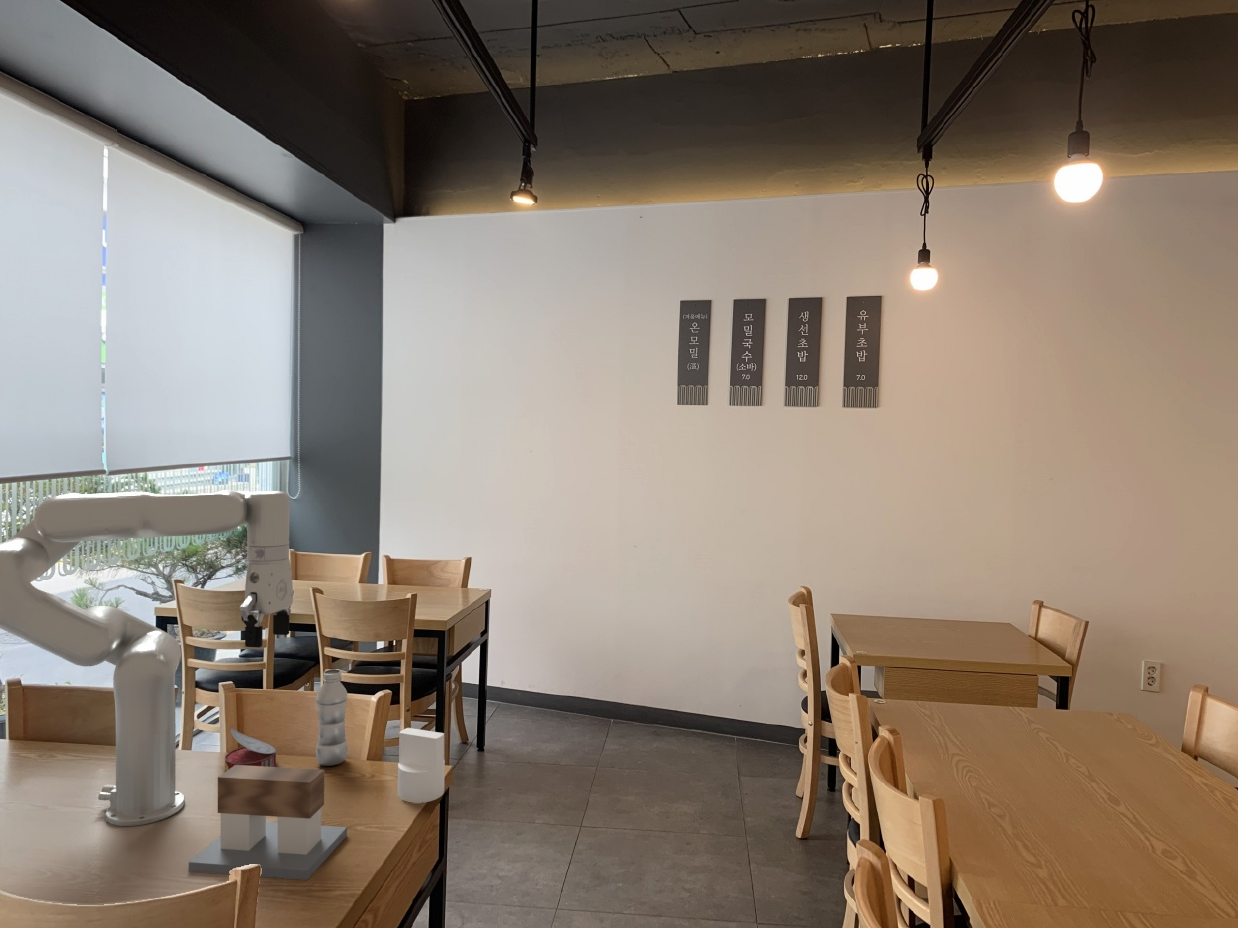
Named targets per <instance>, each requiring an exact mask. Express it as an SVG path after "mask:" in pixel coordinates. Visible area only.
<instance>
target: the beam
mask: <svg viewBox="0 0 1238 928" xmlns="http://www.w3.org/2000/svg"><path fill="white" fill-rule="evenodd" d="M324 805H325V769H312V768H298V767H296V768H295V767H279V766H275V767H264V766H246V765H235V766H233V767H232V768H230V769H229V770H227V771H226V772H225V771H224V772H223V773H221V774H220V775H219V776H218V777H217V813H218V814H221V813H226V814H243V815H259V816H266V817H275V818H278V817H292V818H308V819H310V818H311V817H312V816H313V815H314V814H315V813H316V812H317V811H318V810H319V809H320V808H321V809H322V807H323V806H324Z"/></svg>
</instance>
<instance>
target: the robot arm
mask: <svg viewBox="0 0 1238 928" xmlns="http://www.w3.org/2000/svg"><path fill="white" fill-rule="evenodd" d="M240 526H241V527H242V526H243V527H244V526H246V527H247V532H246V533H247V535H246V536H247V537H246V541H247V546H246V554H247V556H246V561H247V568H246V576H245V585H244V601H243V602H242V603H241V605H240V606H239V610H238V611H239V612H240V615H241V621H242V622H243V624H242V625H243V627H244V646H245V648H259V649H260V648H261V647H263V632H264V631H263V628H264V627H263V625H261V623H262V622H263V619H264V616H266V615H267V616H268V615H269V616H271V615H272V633H273V635H275V636H287V635H290V615H291V612H292V611H291V610H292V609H291V606H292V605H293V603H294V592H295V591H294V589H293V587H294V586H293V584H294V583H293V572H292V564H291V560H290V495H288V493H286V492H285V491H281V490H280V491H279V490H259V491H254V492H253V491H252V492H250V491H242V490H233V489H223V490H218V491H215V492H214V493H200V494H198V493H197V494H170V495H169V494H156V493H152V492H146V491H130V492H129V491H128V492H111V493H110V492H108V493H89V494H87V493H86V494H85V493H84V494H82V493H77V492H70V493H64V494H60V495H55V496H52V497H49V498H47V499H46V500H44V501H42V502H41V503H40V504H39V505H38V507H37V508H36V510H35V512H34V515H33V519H32V520H31V521H30V522H29V523H28V524H26V525H25V526H24V527H23V528H22V529H20V530H19V531H18V532H17V533H16V534H13V536H12V537H10V538H9V539H7V540H5V541H2V542H0V629H1V630H3V631H5V632H7V633H8V634H9V633H10V634H12V635H13V636H15V637H17V638H20V639H22V640H25V641H26V642H28V643H29V644H32V645H34V646H36V647H38V648H40V649H41V650H42V649H43V650H44V651H46V652H48V653H51V654H53V655H55V656H56V657H57V656H58V657H59V658H61V659H63V660H65V661H67V662H69V663H71V664H73V665H76V666H80V667H94V666H97V665H100V664H102V663H103V662H108V663H109V664H112V665H114V666H115V667H114V671H113V676H112V677H113V678H112V679H113V681H112V682H113V684H112V686H113V687H112V688H113V696H114V706H115V707H114V708H115V709H114V710H115V784H110V783H109V784H108V783H107V784H104V785H103V786H102V788H101V792H100V793H99V794H98V797H97V799H98V800H99V801H109V802H110V803H109V805H110V806H109V807H108V808H107V809H106V811H105V821H106V822H107V823H109V824H111V825H113V826H119V827H133V826H143V825H146V824H147V825H148V824H152V823H155V822H159V821H161V820H164V819H167V818H169V817H171V816H172V815H175V814H176V813H178V812H179V811H180V810H182V808H183V807H184V805H185V802H186V797H185V795H184V793H182V792H180V791H178V790H176V763H177V761H176V752H177V751H176V750H177V748H176V740H177V739H176V738H177V737H176V735H177V734H176V733H177V731H176V729H177V728H176V727H177V726H176V724H177V723H176V692H175V691H176V690H175V681H176V678H175V677H176V672H177V669H178V667H179V665H180V662H181V658H182V650H181V646H180V644H179V642H178V640H177V639H176V638H175V637H173V636H172V635H171V634H170V633H168V632H166V631H164V630H162V629H161V628H158V627H157V626H154V625H152V624H150V623H149V622H147V621H145V620H143V619H140V618H138V617H137V616H134V615H132V614H130V613H128V612H126V611H125V610H122V609H120V608H117V607H114V606H109V605H95V606H90V607H88V608H85V609H84V608H82V607H79V606H77V605H75V604H73V603H70V602H69V601H66V600H65V599H63V598H61V597H59V596H57V595H55V594H53V593H50V592H46V591H45V590H44V591H43V590H41V589H39V588H37V587H36V586H34V585H33V584H32V583H31V582H33V581H37V580H38V578H40V577H42V576H43V575H44V574H45V573H47V572H48V571H49V570H50V569H51V568H52V567H53V566H54V565H56V564H57V563H59V561H61V559H63V558H64V557H65V556H67V554H68V553H70V552H71V551H72V550H73V549H74V548H76V547H77V546H78V545H79V544H80V543H82V542H90V541H91V542H92V541H104V540H105V541H106V540H118V539H119V540H122V539H124V540H125V539H141V538H144V539H148V538H149V539H152V538H153V539H154V538H158V537H159V538H160V537H161V538H162V537H187V536H188V537H189V536H202V535H216V534H217V535H218V534H225V533H226V534H227V533H229V532H232V531H234V530H236V529H237V528H239V527H240Z"/></svg>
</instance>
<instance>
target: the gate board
mask: <svg viewBox="0 0 1238 928" xmlns="http://www.w3.org/2000/svg"><path fill="white" fill-rule="evenodd" d="M266 820H267V816H259V815H243V814H226V813H220V835H219V836H218V837H217V838H216V839H215V840H214V841H213V842H211V843H210V844H209V845H208V846H207V847H204V849H202V851H201V852H199V853H198V854H197V855H196V856H194V857H193V858H192V859H190V861H189V862H188V872H192V873H208V874H210V873H211V874H220V875H230V874H229V871H230V870H232V869H233V868H236V867H241V866H244V865H249V864H260V865H261V868H262V874H261V877H263V878H273V877H274V878H275V877H276V878H277V879H289V880H304V881H308V880H309V878H310V877H311V876H312V875H313V874H314V873H315V872H316V871H317V869H319V868H320V866H321V865H322V864H323V863H324V862H325V861H326V860H327V858H329V856H330V855H331V854H332V853H333V852H334V851H335V850H336V848H338V847H339V845H340V844H341V843H342V841H344V839H345V838H346V837H347V835H348V827H346V826H332V825H322V807H321V808H320V809H319V810H318V811H317V812H316V813H315V814H314V815H313V816H312V817H311V818H310V819H308V818H292V817H277V822H272V821H266ZM261 877H260V878H261Z"/></svg>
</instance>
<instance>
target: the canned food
mask: <svg viewBox="0 0 1238 928" xmlns="http://www.w3.org/2000/svg"><path fill="white" fill-rule="evenodd" d="M230 734H231V735H232V737H233V739H234V740H235V742H237V743H238V744H239V745H241V746H243V747H239V748H236V749H234V750H232V751H230V752H228V753H227V754H226V755H225V757H224V773H225V772H226V771H227V770H229V769H230V768H232V767H233V766H235V765H246V766H264V767H276V765H277V750H276V748H275V747H274V746H272V745H270V744H269V743H267V742H264V741H262V740H258V739H256V738H253V737H251V736H247V735H245V734H243V733H241V732H239V731H237V730H236V729H235V728H231V729H230Z"/></svg>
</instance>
